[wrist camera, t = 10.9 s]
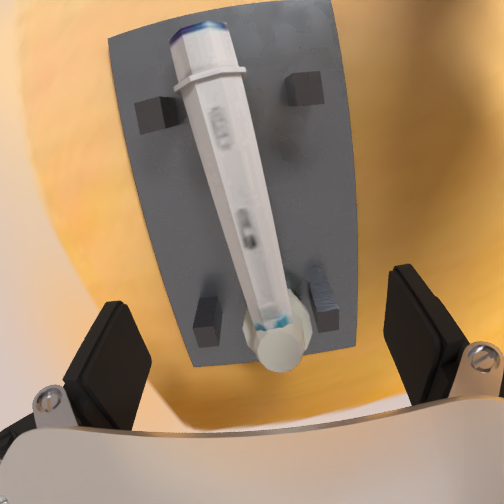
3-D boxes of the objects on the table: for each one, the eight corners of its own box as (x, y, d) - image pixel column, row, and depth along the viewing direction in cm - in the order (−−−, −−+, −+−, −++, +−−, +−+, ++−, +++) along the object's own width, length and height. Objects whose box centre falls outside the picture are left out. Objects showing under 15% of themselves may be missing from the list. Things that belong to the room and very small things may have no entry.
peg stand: (112, 40, 19) (83, 29, 14) (327, 2, 18) (345, -20, 13) (195, 360, 32) (188, 397, 27) (353, 339, 31) (366, 375, 26)
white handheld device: (237, 10, 14) (324, 386, 22) (243, 44, 21) (312, 337, 28) (149, 37, 15) (253, 400, 22) (176, 63, 21) (255, 349, 29)
